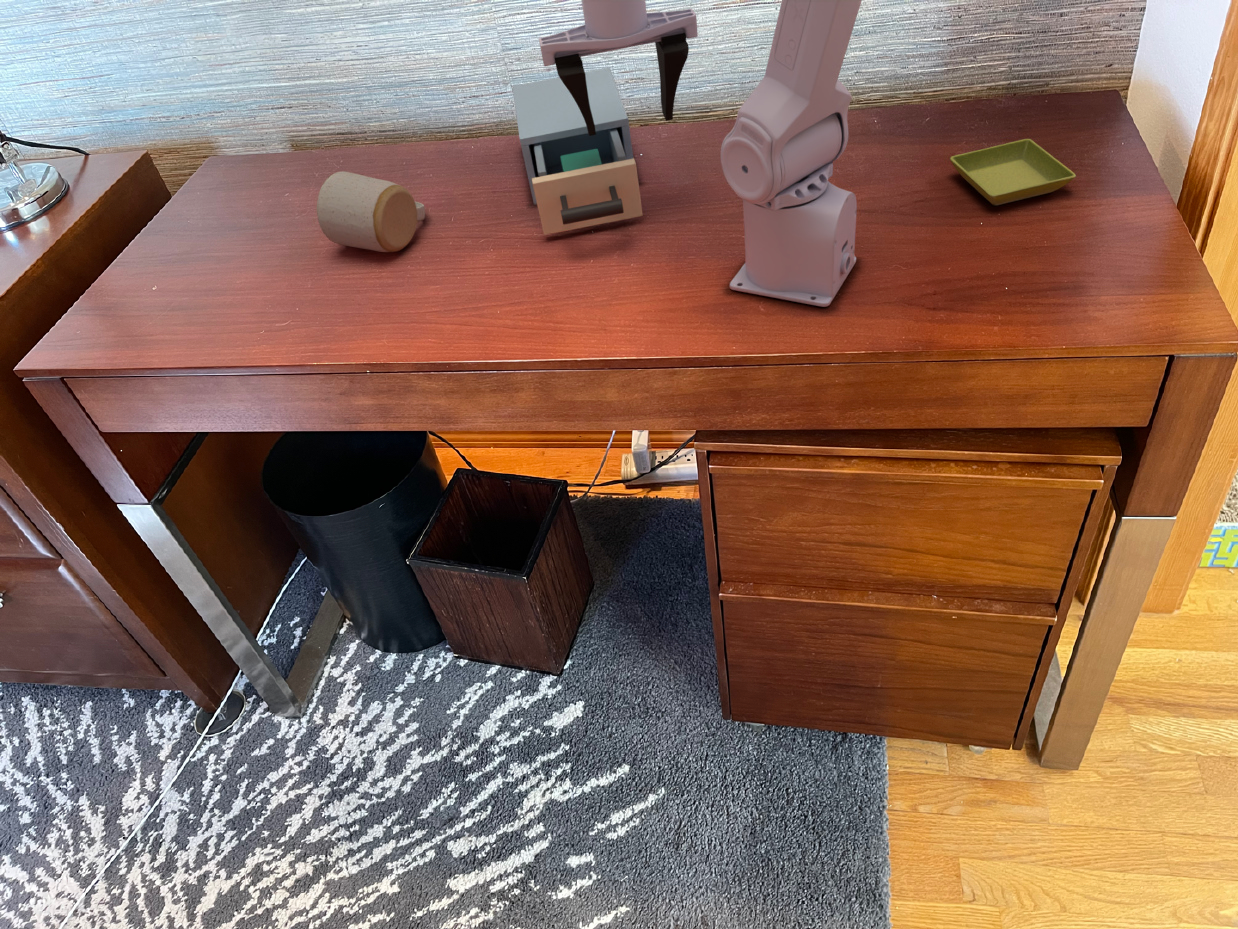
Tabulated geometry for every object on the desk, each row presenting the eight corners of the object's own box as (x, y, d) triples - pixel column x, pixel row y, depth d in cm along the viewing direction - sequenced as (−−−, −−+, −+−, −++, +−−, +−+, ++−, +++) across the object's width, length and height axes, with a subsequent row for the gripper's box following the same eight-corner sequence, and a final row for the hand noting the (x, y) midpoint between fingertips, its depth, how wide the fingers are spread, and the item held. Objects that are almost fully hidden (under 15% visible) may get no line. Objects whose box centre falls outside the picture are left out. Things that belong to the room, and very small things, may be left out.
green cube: (603, 183, 96) (597, 147, 94) (608, 200, 94) (602, 165, 91) (566, 190, 96) (560, 155, 94) (570, 208, 93) (563, 172, 91)
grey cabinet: (636, 184, 99) (628, 117, 94) (534, 204, 99) (519, 139, 94) (618, 129, 110) (609, 66, 104) (525, 147, 110) (512, 85, 104)
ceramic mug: (390, 267, 94) (367, 199, 88) (330, 257, 97) (304, 191, 92) (446, 217, 100) (427, 151, 95) (388, 209, 103) (366, 145, 98)
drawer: (649, 237, 89) (643, 184, 85) (547, 257, 89) (535, 205, 85) (624, 158, 102) (617, 108, 98) (534, 175, 102) (524, 126, 98)
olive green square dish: (1074, 195, 86) (1078, 175, 85) (988, 215, 86) (991, 195, 84) (1025, 156, 92) (1029, 137, 91) (945, 175, 92) (947, 156, 90)
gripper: (681, -54, 82) (693, 93, 92) (526, -24, 82) (554, 120, 92) (697, -32, 77) (707, 122, 87) (531, 1, 77) (560, 150, 87)
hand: (629, 123), depth 89 cm, fingers open, 7 cm apart
